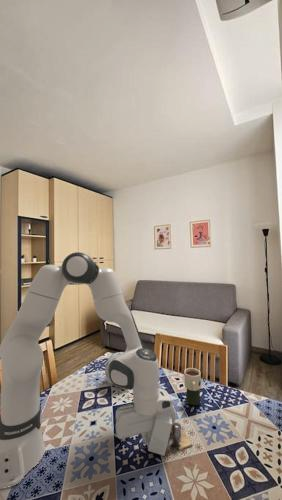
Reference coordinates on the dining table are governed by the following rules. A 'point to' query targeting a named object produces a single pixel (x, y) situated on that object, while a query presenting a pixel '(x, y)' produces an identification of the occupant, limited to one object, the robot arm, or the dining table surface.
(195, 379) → the character mug
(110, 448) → the dining table surface
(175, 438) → the dogs
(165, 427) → the small box
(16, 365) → the robot arm
